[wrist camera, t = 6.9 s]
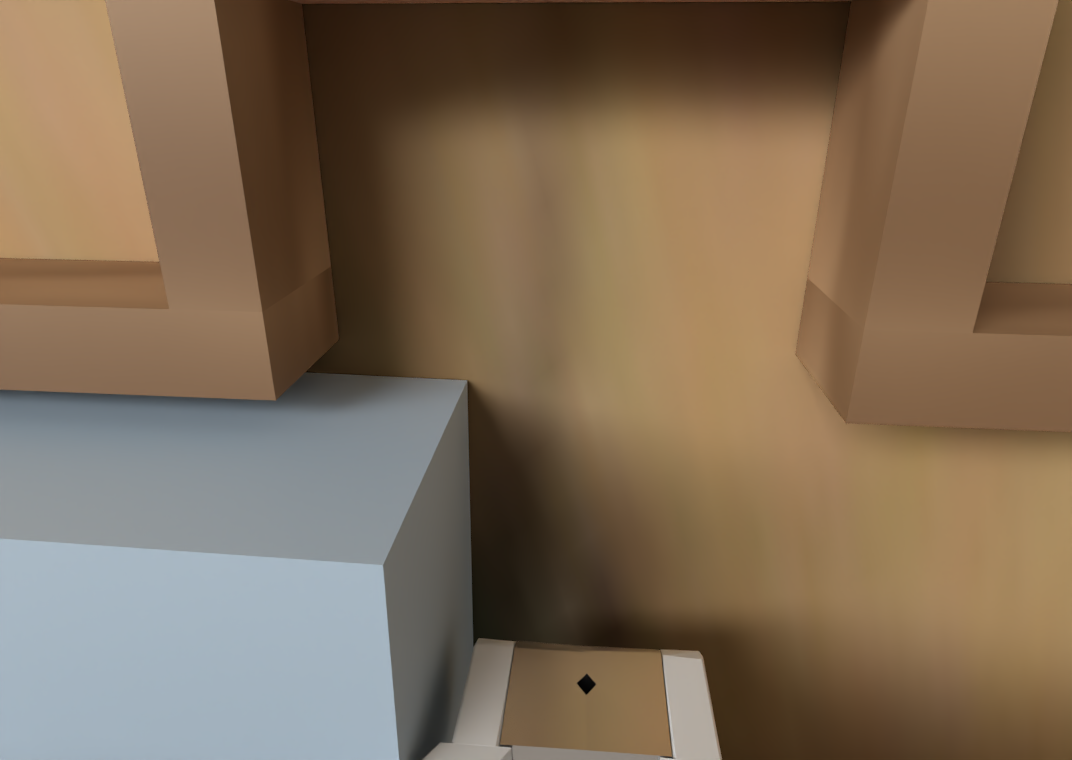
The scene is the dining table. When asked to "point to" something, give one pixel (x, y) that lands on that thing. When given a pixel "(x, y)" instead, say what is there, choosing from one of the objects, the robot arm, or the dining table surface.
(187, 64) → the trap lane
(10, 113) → the dining table surface
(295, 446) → the brick
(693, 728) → the robot arm
